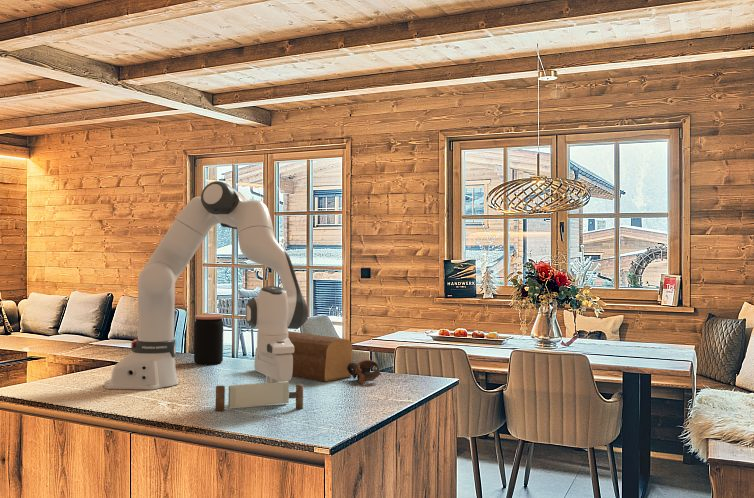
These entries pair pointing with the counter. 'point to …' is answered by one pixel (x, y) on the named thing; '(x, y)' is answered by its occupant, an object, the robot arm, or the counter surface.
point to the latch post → (298, 396)
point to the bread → (320, 356)
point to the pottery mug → (364, 370)
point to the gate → (258, 394)
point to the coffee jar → (208, 339)
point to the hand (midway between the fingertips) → (272, 391)
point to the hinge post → (220, 398)
